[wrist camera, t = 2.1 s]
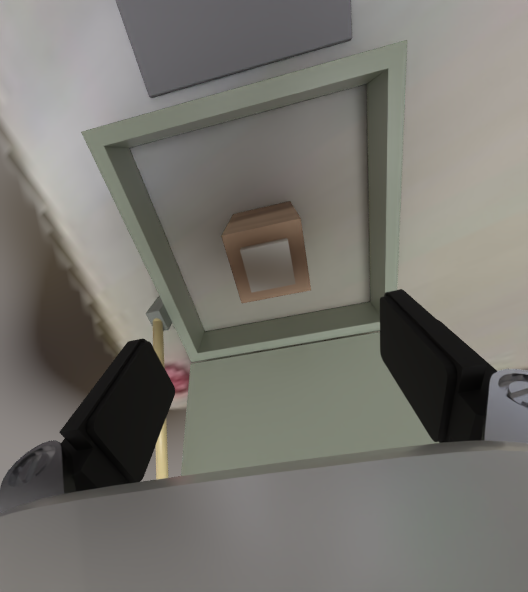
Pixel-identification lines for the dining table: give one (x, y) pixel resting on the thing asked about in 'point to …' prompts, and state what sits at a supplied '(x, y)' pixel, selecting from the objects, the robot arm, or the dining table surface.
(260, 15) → the mat
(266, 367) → the case
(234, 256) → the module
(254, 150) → the dining table surface
